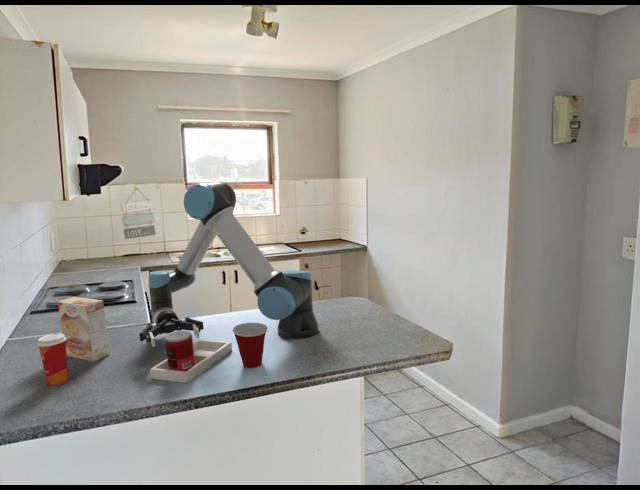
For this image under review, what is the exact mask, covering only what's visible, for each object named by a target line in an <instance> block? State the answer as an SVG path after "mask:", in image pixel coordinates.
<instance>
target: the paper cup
mask: <svg viewBox="0 0 640 490" xmlns="http://www.w3.org/2000/svg"><path fill="white" fill-rule="evenodd" d="M65 340H66V337H65V336H64V334H62V333H52V334H47V335H44V336H41V337H40V338H38V339H37V344H36V346H37V347H38V350H39V354H40V358H41V362H42V367H43V371H44V375H45V376H44V377H45V379H46V384H47V385H48V386H50V387H51V386H52V387H54V386H59V385H62V384H64V383H67V381H68V380H69V367H68V356H67V353H66V341H65Z"/></svg>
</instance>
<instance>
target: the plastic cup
mask: <svg viewBox="0 0 640 490" xmlns="http://www.w3.org/2000/svg"><path fill="white" fill-rule="evenodd" d="M268 329H269V328H268V326H267V325H266V324H264V323H259V322H244V323H240V324H237V325H235V326H233V328H232V332H233V333H234V337H235V340H236V344H237V348H238V352H239V356H240V358H241V363H242V364H243V366H244V367H245V368H249V369H250V368H251V369H253V368H257V367H259V366H261V365H262V363H263V355H264V347H265V338H266V334H267V332H268Z"/></svg>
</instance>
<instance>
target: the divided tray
mask: <svg viewBox="0 0 640 490" xmlns="http://www.w3.org/2000/svg"><path fill="white" fill-rule="evenodd" d="M192 342H193V352H194V362H195V366H193V367H192V368H191V369H189V370H188V371H186V372H184V371H175V370H169V368H168V360H167V358H165V359H164V360H162V362H161V361H160V363H157V364H156V365H155V366H153V367H151V368H150V369H149V371H150V379H152V380H158V381H159V380H160V381H166V382H167V381H168V382H175V383H183V384H189V383H191V382H192V381H193V380H194V379H196V378H197V377H198V376H200V375H201V374H202V373H204V372H205V371H206V370H208V369H210V368H211V367H212V366H213V365H215V364H216V363H217V362H219V361H220V360H221V359H223V358H224V357H225V356H226V355H228V354H230V353H231V352H232V351H233V347H232V346H233V345H232V342H231V341H224V340H223V341H221V340H220V341H219V340H210V339H201V338H197V340H195V341H192Z"/></svg>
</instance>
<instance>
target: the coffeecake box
mask: <svg viewBox="0 0 640 490" xmlns="http://www.w3.org/2000/svg"><path fill="white" fill-rule="evenodd" d="M104 305H105V304H104V300H103V299H95V298H87V297H81V296H72V297H70V298H65V299H62V300H58V301H57V307H58V308H57V309H58V315H59V316H58V317H59V320H60V321H59V322H60V329H61V334H64V336H65V337H66V340H65V341H66V353H67V357H71V358H74V359H75V358H76V359H81V360H85V361H88V362H89V361H90V362H96V361H98V360H101V359H102V358H104V357H107V356H109V355H111V350H110V341H109V336H108V335H109V334H108V329H107V322H106V321H107V320H106V313H105V306H104Z"/></svg>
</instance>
